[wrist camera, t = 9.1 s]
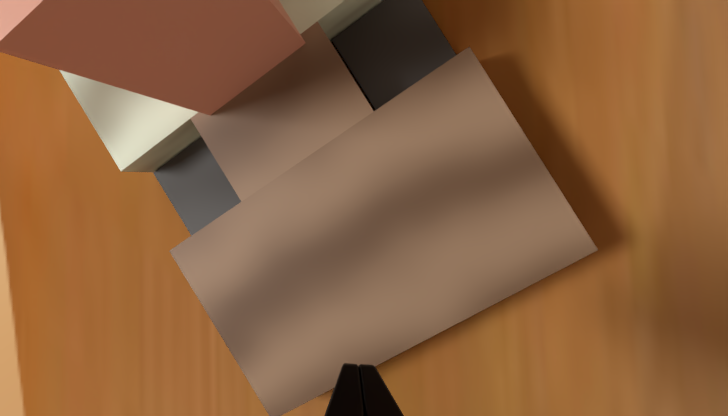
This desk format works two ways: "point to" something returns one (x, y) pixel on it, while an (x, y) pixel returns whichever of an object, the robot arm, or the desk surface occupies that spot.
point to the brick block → (155, 44)
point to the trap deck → (346, 195)
